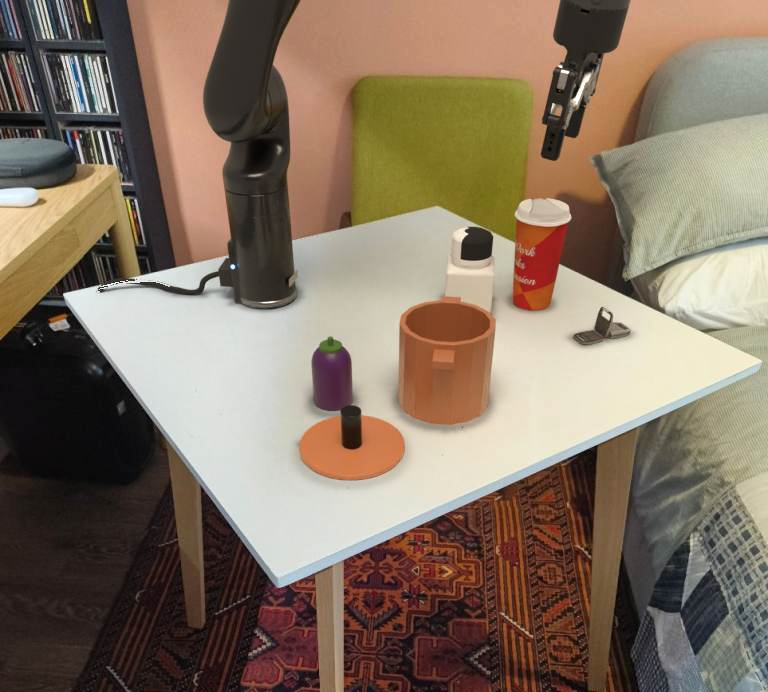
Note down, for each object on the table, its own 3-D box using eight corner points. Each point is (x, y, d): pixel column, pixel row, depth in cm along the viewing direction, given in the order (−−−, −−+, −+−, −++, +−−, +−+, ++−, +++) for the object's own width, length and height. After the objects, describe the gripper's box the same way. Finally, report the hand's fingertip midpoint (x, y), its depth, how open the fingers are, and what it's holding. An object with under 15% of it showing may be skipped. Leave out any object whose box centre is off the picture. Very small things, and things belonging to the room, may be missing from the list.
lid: (289, 480, 87) (285, 438, 83) (311, 419, 97) (308, 379, 93) (398, 488, 86) (399, 446, 82) (409, 426, 95) (410, 385, 92)
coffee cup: (500, 292, 125) (510, 197, 115) (550, 290, 125) (564, 195, 115) (511, 315, 118) (522, 217, 108) (564, 313, 119) (580, 215, 109)
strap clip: (619, 326, 116) (624, 299, 113) (631, 335, 113) (637, 308, 111) (571, 337, 113) (576, 310, 110) (583, 346, 111) (588, 319, 108)
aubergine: (310, 413, 98) (305, 346, 91) (318, 392, 101) (313, 326, 95) (349, 416, 97) (347, 348, 91) (355, 395, 101) (353, 329, 95)
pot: (391, 437, 94) (392, 352, 86) (405, 367, 106) (407, 288, 99) (485, 443, 93) (494, 359, 85) (488, 372, 105) (496, 293, 98)
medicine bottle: (490, 298, 123) (497, 223, 115) (490, 319, 117) (498, 241, 110) (445, 296, 123) (449, 221, 116) (443, 316, 118) (447, 239, 110)
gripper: (581, -23, 90) (548, 122, 102) (544, 2, 81) (512, 158, 93) (643, -10, 88) (602, 136, 100) (613, 17, 79) (572, 175, 91)
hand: (559, 147), depth 96 cm, fingers open, 8 cm apart
